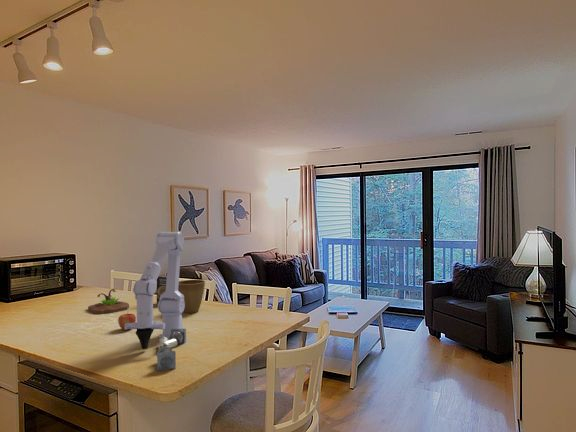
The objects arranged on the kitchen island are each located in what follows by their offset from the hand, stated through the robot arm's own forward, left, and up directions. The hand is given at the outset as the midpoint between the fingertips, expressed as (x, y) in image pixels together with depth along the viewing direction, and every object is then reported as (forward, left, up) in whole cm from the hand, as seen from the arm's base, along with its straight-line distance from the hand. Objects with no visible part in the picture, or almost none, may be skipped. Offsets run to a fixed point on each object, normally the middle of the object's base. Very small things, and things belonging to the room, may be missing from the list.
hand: (144, 348), depth 139 cm
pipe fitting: (-3, +8, -2) cm, 8 cm away
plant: (-65, -47, -2) cm, 80 cm away
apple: (-28, -20, -1) cm, 34 cm away
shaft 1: (+13, +13, -1) cm, 18 cm away
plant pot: (-61, -1, -1) cm, 61 cm away
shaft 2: (-10, +9, -1) cm, 13 cm away
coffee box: (-79, -21, -1) cm, 81 cm away
